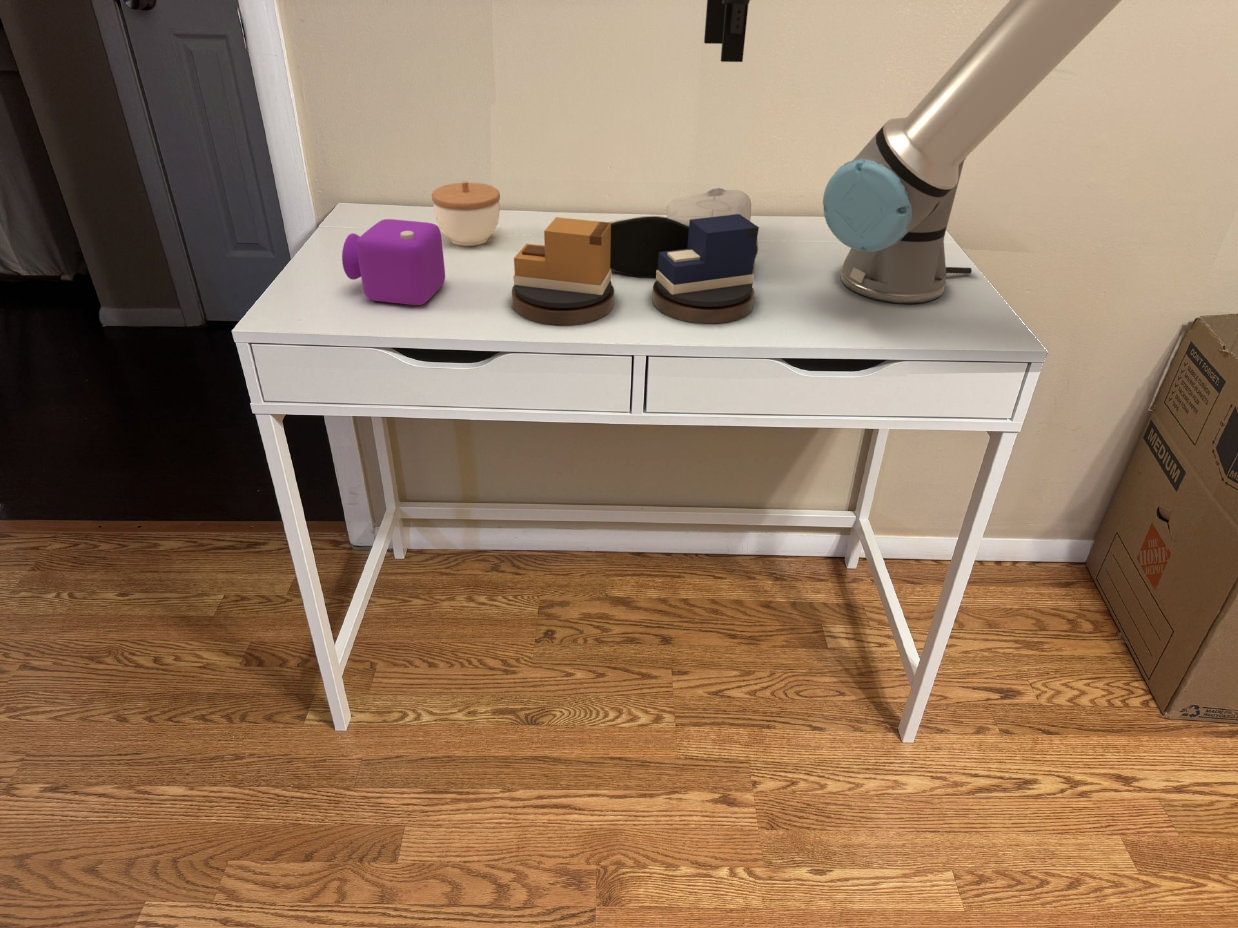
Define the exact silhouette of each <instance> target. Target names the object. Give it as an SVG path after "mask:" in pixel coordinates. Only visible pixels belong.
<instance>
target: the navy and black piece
mask: <svg viewBox="0 0 1238 928" xmlns="http://www.w3.org/2000/svg"><path fill="white" fill-rule="evenodd" d="M759 229H760V227H759V226H758V225H757V224H754V222H752V221H751V220H750V221H749V220H747V219H746V218H745V217H743V216H742V215H740V214H734V215H726V216H717V217H708V218H699V219H690V222H689V235H688V249H681V250H673V251H665V252H659V256H658V270H657V271H656V276H655V281H656V286H657V289H658V291H659V292H660V293H661V294H662V295H664V296H665V297H667V298H669V299H671V300H673V301H676V302H679V303H683V304H687V305H692V306H700V307H720V306H728V305H733V304H736V303H739V302H742V301H744V300H745V299H747V298H748V297H749V296H750V294H751V292H752V287H753V284H754V279H755V278H754V277H755V274H754V266H755V261H756V258H755V252H756V244H757V239H758V236H759Z"/></svg>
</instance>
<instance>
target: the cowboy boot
mask: <svg viewBox="0 0 1238 928" xmlns="http://www.w3.org/2000/svg"><path fill="white" fill-rule="evenodd" d="M665 208H666V209H665V210H666V216H663V215H643V216H642V215H641V216H636V217H629V218H622V219H616V220H612V221H609V222H610V223H611V248H610V270H611V271H614V272H618V273H620V274H622V275H626V276H628V277H629V276H630V277H635V278H651V277H656V271H657V270H658V256H659V252H665V251H673V250H681V249H688V235H689V222H690V219H699V218H708V217H717V216H726V215H734V214H740V215H742V216H743V217H745V218H746V219H747V220H749V221H750V222H751V219H752V218H751V217H752V201H751V198H750V196H749V195H748V193H746V192H744V191H741V190H737V189H724V188H720V187H717V188H712V189H709V190H708V191H707V192H705V193H698V194H693V195H689V196H685V197H680V198H677V199H673V200H671V201H670V202H668V203H667V204H666V207H665ZM758 253H759V240H758V238H757V244H756V252H755V259H756V257H757V256H758Z"/></svg>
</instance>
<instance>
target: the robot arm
mask: <svg viewBox="0 0 1238 928" xmlns="http://www.w3.org/2000/svg"><path fill="white" fill-rule="evenodd" d="M750 2H751V0H706V10H705V11H706V12H705V22H704V23H705V24H704V39H703V40H704V41H703V43H704V44H706V45H707V44H710V45H711V44H714V45H716V44H717V45H721V51H720V62H721V63H743V61H744V52H745V42H746V32H747V24H748V23H747V21H748V13H749V4H750ZM1121 2H1122V0H1008V1H1007V3H1006V4H1005V5H1004V6H1003V7H1002V9H1000V11H999V12H998V13H997V15H996V16H995V17H994V18H992V20H991V21H990V22H989V24H988V25H987V26H986V27H985V28H984V29H983V30H982V31H981V33H979V35H978V36H977V37H976V38H975V39H974V40H973V42H971V44H970V45H969V46H968V47H967V49H966V50H965V51H964V52H963V53H962V54H961V56H959V57H958V59H957V60H955V62H954V63H953V64H952V66H950V68H949V69H948V70H947V71H946V72H945V74H944V75H943V76H942V77H941V78H940V79H939V80H938V81H937V82H936V84H934V86H933V87H932V88H931V89H930V90H929V92H928V93H927V94H926V95H925V96H924V97H923V98H922V100H921V101H920V102H919V103H918V104H917V105H916V106H915V107H914V109H913V110H912V111H911V112H910V113H909V114H908V115H907V116H905V117H897V118H889V120H887V121H886V122H885V123H884V124H883V125H882V126H881V128H880V129H879V130H878V131H877V132H876V133H875V134H874V136H872V138H870V140H869V141H868V142H867V144H866V145H865V146H864V147H863V148H862V149H861V150H860V152H859V153H858V154H857V155H856V156H855V157H854V158H853V159H852V160H850V161H849V160H848V161H847V162H845V163H843V165H840V166H839V167H838V168H837V170H836V171H835V172H834V173H833V174H832V176H831V177H830V178H829V180H828V181H827V183H826V186H825V188H824V191H823V197H822V206H823V216H824V219H825V222H826V225H827V226H828V228H829V230H830V232H831V233H832V235H833V236H834V237H835V238H836V239H837V240H838V241H839V242H841V243H842V244H843V245H844V246H847V247H848V248H850V250H849V252H848V253H847V255H846V257H845V259H844V261H843V264H842V266H841V271H840V280H841V282H842V284H843V285H844V286H845V287H847V288H848V289H849V290H850V291H853V292H854V293H857V294H859V295H860V296H864V297H867V298H870V299H873V300H877V301H883V302H887V303H895V304H918V303H927V302H930V301H933V300H935V299H938V298H939V297H940V296H942V295H943V293H944V292H945V287H946V284H947V274H959V275H962V274H963V275H971V274H972V271H973V269H972V268H971V267H957V266H947V265H946V254H945V252H946V251H945V236H946V232H947V228H948V224H949V221H950V216H951V213H952V210H953V205H954V202H955V198H956V193H957V190H958V186H959V182H960V178H961V175H962V171H963V167H964V163H965V160H966V159H967V157H969V155H970V154H971V153H972V152H973V151H974V150H975V149H976V148H977V147H978V146H979V145H980V144H981V143H982V142H983V141H984V140H985V139H986V138H988V136H989V135H990V134H991V133H992V132H993V131H994V130H995V129H996V128H997V127H998V126H999V125H1000V124H1001V123H1002V122H1003V121H1004V120H1005V119H1006V118H1007V117H1008V116H1009V115H1010V114H1011V113H1012V112H1013V111H1014V110H1015V109H1016V108H1017V107H1018V106H1019V105H1020V103H1022V102H1023V101H1024V100H1025V99H1026V98H1027V97H1028V96H1029V95H1030V94H1031V93H1032V91H1034V90H1035V89H1036V88H1037V87H1038V85H1040V84H1041V82H1043V80H1045V78H1047V76H1048V75H1049V74H1050V73H1052V71H1053V70H1054V69H1056V68H1057V66H1058V65H1059V64H1060V63H1061V62H1062V61H1064V59H1065V58H1067V56H1068V55H1069V54H1071V52H1072V51H1073V50H1074V49H1076V47H1077V46H1078V45H1079V44H1081V43H1082V41H1083V40H1084V39H1085V38H1086V37H1087V36H1088V35H1089V34H1090V33H1091V32H1092V31H1093V30H1094V29H1095V28H1096V27H1097V26H1098V25H1099V24H1100V23H1101V22H1102V21H1103V20H1104V19H1105V18H1106V17H1107V16H1108V15H1109V14H1110V13H1111V12H1112V11H1113V10H1114V9H1115V8H1116V7H1117V6H1118V5H1119V4H1120V3H1121Z"/></svg>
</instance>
